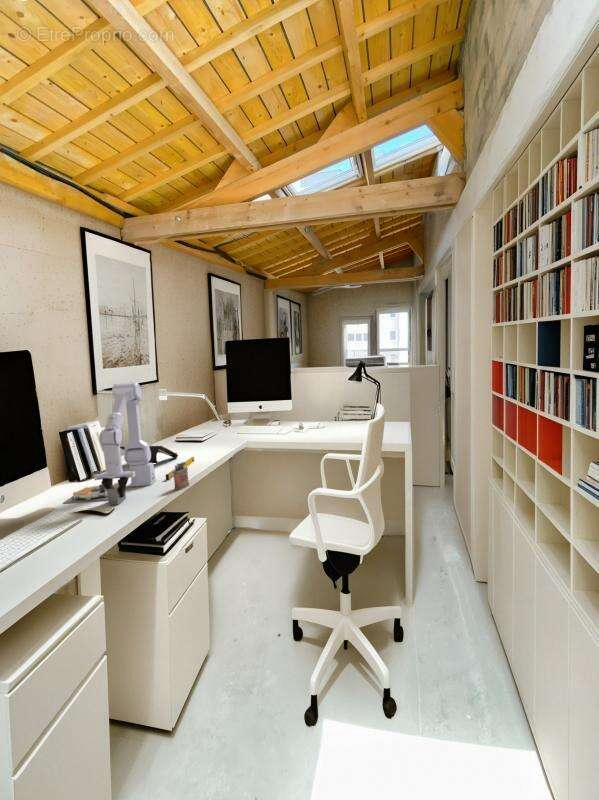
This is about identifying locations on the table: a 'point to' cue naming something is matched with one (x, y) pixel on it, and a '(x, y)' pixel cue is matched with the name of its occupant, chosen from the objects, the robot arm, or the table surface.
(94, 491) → the sprocket
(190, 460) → the spirit level
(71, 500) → the base plate
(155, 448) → the portable electronic device stand
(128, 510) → the table surface
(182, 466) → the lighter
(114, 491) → the orange striped gray block
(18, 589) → the table surface
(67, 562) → the table surface
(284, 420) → the table surface
